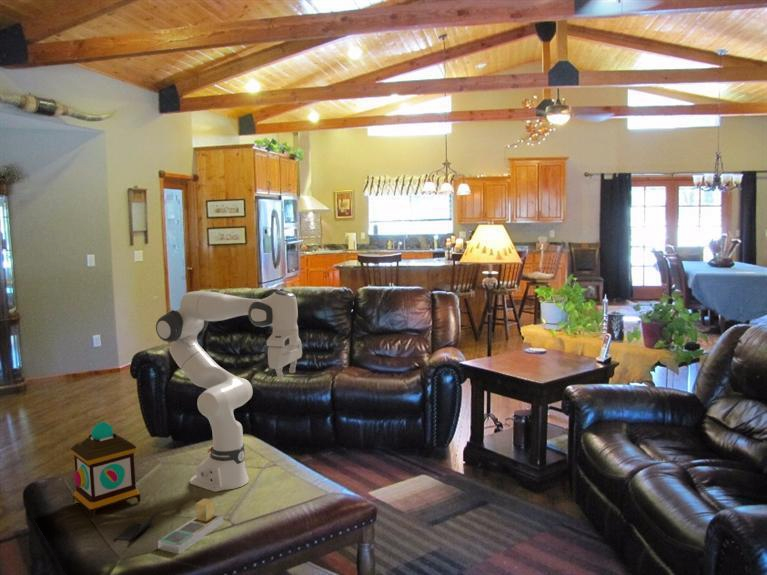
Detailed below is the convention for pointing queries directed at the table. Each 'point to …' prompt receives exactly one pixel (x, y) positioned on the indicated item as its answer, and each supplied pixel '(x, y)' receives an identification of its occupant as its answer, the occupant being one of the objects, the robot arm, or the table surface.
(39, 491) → the table surface
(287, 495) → the table surface
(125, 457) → the decorative lantern
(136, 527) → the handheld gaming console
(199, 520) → the tan rectangular block
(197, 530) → the white compartment tray
